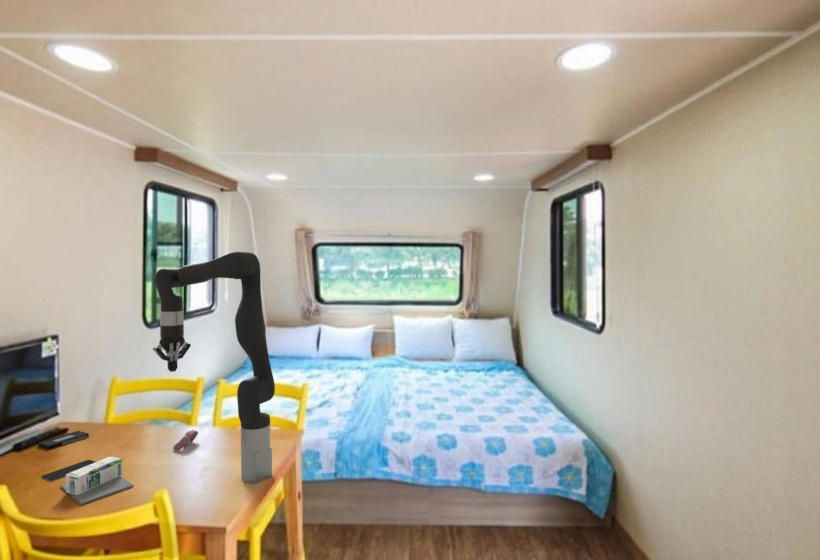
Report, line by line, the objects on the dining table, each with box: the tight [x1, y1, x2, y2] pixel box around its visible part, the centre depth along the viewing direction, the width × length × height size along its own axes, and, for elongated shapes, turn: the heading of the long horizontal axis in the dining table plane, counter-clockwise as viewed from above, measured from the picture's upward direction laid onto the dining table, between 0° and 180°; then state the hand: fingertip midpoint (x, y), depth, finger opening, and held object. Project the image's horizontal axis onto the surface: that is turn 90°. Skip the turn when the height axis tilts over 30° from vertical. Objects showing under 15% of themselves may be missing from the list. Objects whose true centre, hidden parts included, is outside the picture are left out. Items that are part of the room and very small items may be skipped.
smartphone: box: [40, 459, 96, 482], centre depth 155 cm, size 7×1×15 cm
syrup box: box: [65, 456, 124, 495], centre depth 144 cm, size 6×6×14 cm
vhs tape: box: [37, 430, 90, 451], centre depth 180 cm, size 8×14×2 cm, turn 155°
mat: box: [60, 475, 134, 506], centre depth 143 cm, size 18×14×1 cm
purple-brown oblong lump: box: [172, 429, 199, 452], centre depth 176 cm, size 10×5×7 cm, turn 0°
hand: (172, 371), depth 164 cm, fingers closed
